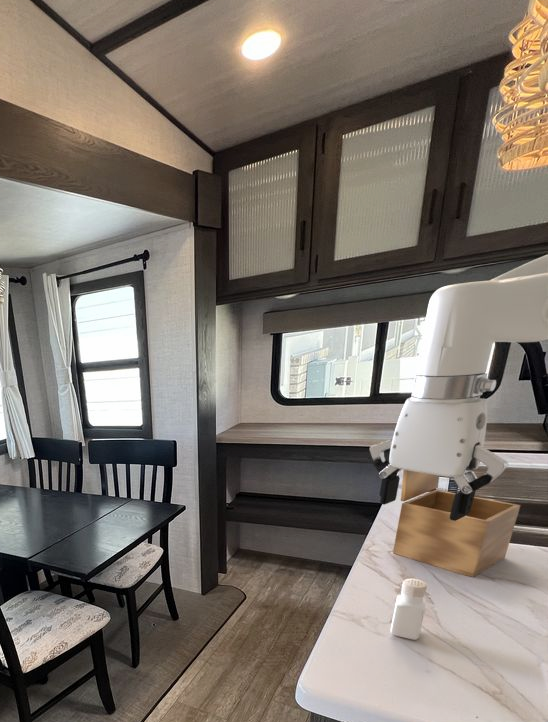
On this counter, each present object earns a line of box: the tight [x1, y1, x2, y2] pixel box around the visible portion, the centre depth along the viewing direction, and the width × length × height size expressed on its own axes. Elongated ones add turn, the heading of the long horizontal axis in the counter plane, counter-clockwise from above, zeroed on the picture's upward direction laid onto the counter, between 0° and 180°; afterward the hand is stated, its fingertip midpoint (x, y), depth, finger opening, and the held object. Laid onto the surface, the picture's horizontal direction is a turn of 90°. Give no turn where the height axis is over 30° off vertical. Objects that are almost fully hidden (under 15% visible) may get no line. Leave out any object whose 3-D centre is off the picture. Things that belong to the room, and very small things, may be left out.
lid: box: [400, 470, 440, 502], centre depth 100 cm, size 16×14×1 cm
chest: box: [392, 489, 521, 578], centre depth 99 cm, size 16×14×12 cm
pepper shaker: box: [389, 578, 428, 641], centre depth 76 cm, size 4×4×10 cm
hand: (420, 509), depth 69 cm, fingers open, 9 cm apart
